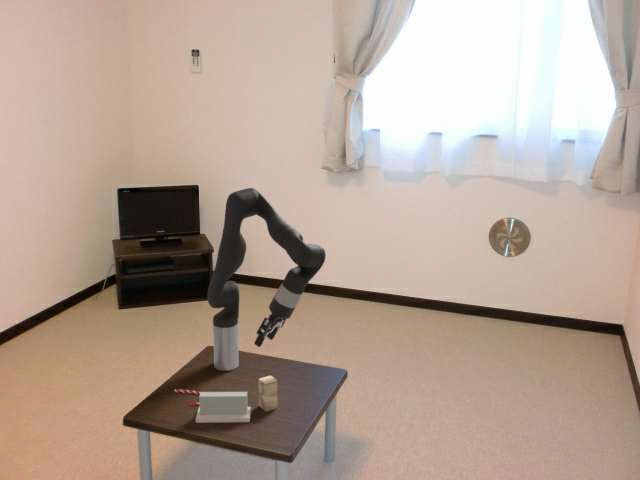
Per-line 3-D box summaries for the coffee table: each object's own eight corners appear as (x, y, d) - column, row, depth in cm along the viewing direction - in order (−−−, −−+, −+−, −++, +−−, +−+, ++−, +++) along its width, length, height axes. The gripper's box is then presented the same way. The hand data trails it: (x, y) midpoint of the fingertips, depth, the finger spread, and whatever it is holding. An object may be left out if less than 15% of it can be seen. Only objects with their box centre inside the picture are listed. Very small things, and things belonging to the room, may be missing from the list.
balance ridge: (199, 411, 205) (198, 389, 203) (251, 410, 206) (250, 388, 204) (195, 422, 198) (195, 399, 196) (249, 422, 199) (249, 399, 197)
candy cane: (180, 384, 221) (214, 395, 214) (180, 388, 221) (214, 399, 214) (165, 394, 214) (199, 405, 207) (165, 397, 215) (199, 409, 207)
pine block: (259, 405, 209) (258, 378, 207) (270, 402, 212) (270, 375, 209) (265, 411, 206) (265, 384, 203) (277, 408, 208) (277, 380, 205)
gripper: (286, 289, 202) (264, 329, 207) (265, 297, 189) (243, 340, 193) (304, 302, 200) (282, 342, 205) (285, 311, 187) (262, 354, 191)
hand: (263, 341), depth 199 cm, fingers open, 8 cm apart
